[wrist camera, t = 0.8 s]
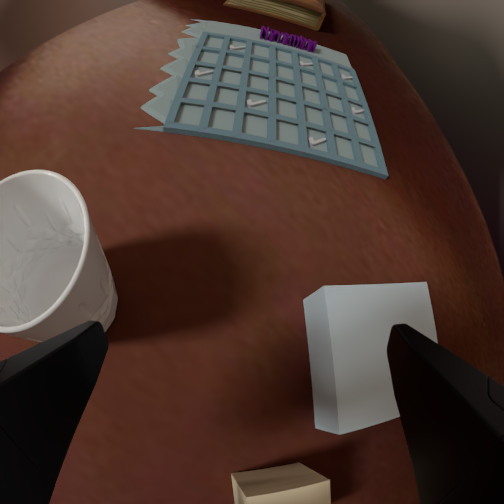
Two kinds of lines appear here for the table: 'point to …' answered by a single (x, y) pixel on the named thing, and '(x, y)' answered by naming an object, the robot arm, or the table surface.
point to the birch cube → (281, 486)
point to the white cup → (50, 259)
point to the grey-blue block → (359, 349)
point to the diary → (286, 10)
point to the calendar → (267, 96)
